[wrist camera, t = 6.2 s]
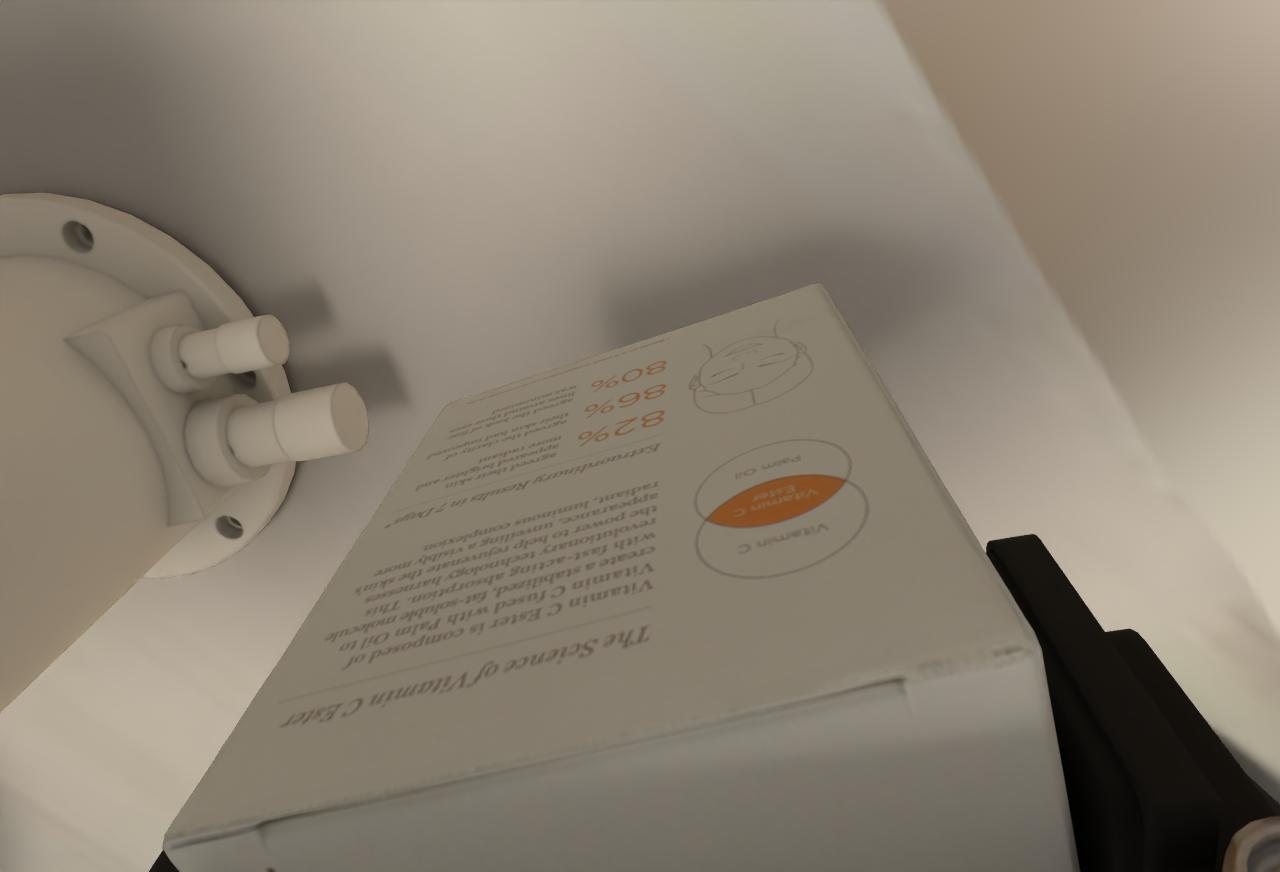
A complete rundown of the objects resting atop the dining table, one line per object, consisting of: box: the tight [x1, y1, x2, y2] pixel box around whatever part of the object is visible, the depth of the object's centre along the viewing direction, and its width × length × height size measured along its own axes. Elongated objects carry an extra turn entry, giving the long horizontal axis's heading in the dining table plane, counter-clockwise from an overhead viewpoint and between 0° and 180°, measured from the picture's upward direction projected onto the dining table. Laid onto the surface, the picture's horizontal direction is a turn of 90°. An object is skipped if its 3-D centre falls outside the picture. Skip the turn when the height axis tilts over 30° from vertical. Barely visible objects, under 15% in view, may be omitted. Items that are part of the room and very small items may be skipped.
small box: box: [163, 283, 1080, 872], centre depth 12 cm, size 8×6×10 cm
